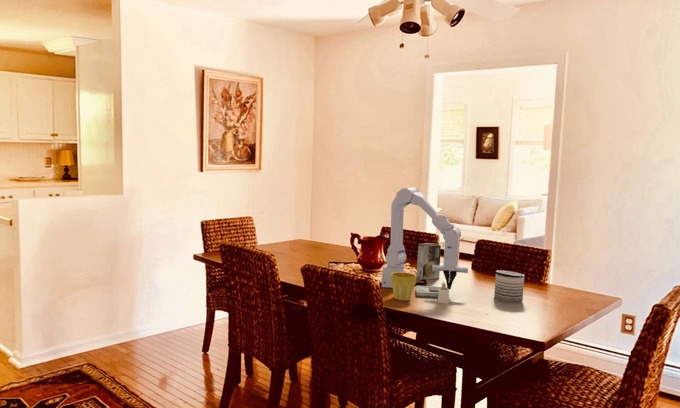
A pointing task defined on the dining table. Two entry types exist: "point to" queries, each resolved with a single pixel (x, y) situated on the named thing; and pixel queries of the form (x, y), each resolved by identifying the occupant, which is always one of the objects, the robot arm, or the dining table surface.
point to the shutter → (435, 289)
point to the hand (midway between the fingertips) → (448, 288)
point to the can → (509, 287)
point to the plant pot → (403, 285)
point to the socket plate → (425, 292)
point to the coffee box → (428, 260)
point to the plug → (443, 295)
